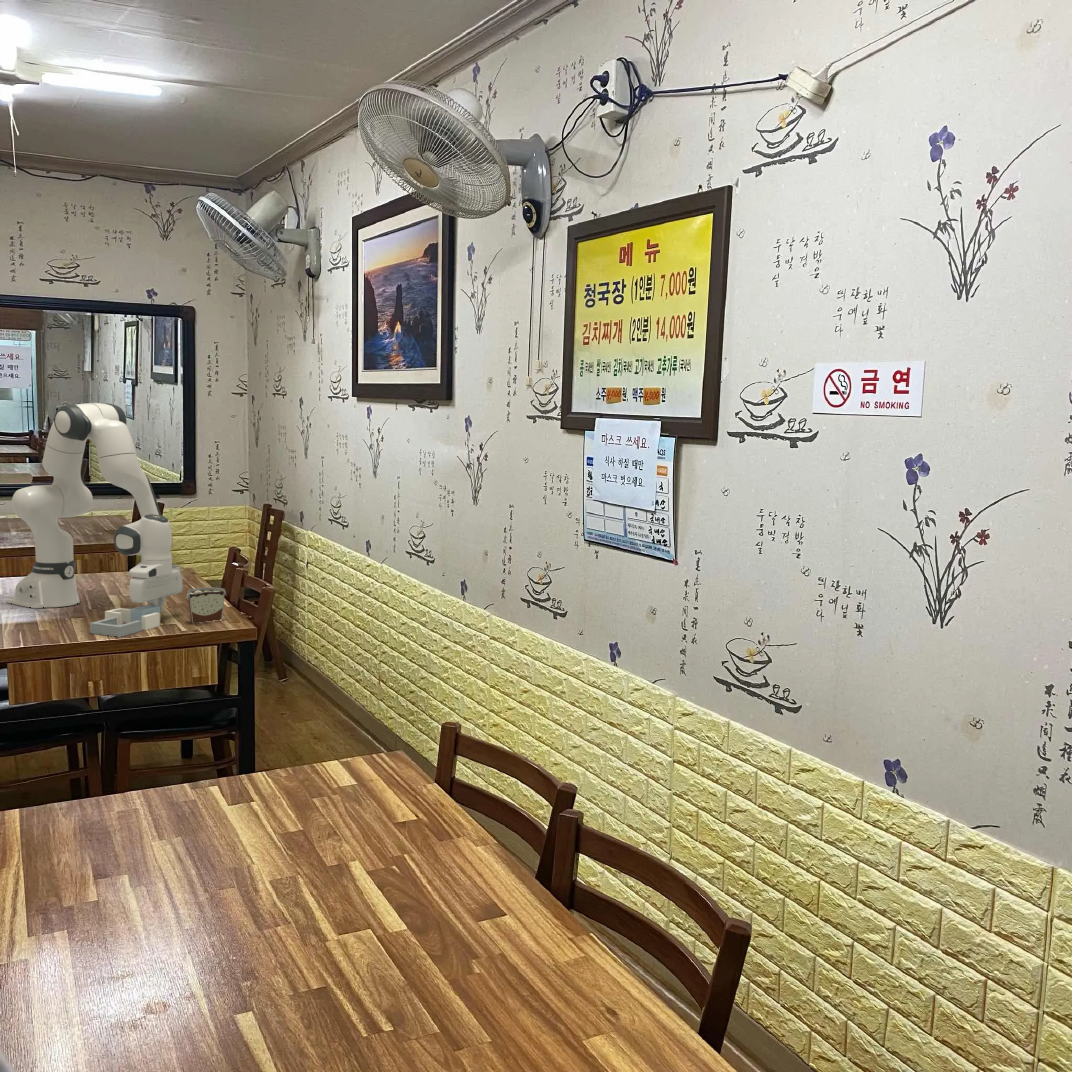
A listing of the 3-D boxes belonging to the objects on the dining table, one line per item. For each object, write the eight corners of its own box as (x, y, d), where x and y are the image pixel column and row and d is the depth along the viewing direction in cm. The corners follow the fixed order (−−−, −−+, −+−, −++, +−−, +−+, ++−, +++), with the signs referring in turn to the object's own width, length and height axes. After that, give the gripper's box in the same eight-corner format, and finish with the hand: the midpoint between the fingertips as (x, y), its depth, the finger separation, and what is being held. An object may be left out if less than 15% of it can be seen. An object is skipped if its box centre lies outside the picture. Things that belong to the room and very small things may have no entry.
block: (130, 625, 293) (130, 609, 292) (147, 620, 299) (146, 604, 299) (144, 627, 291) (143, 610, 290) (160, 622, 298) (160, 606, 297)
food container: (218, 616, 309) (218, 585, 308) (226, 620, 304) (226, 588, 303) (179, 621, 301) (179, 589, 299) (187, 624, 296) (187, 592, 295)
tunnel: (105, 624, 292) (104, 611, 292) (119, 620, 298) (119, 607, 297) (145, 629, 288) (145, 616, 287) (159, 625, 293) (159, 612, 293)
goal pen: (90, 633, 281) (89, 623, 281) (112, 627, 290) (112, 617, 289) (119, 637, 278) (119, 627, 277) (141, 630, 286) (141, 620, 286)
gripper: (170, 562, 309) (171, 605, 310) (125, 571, 289) (125, 617, 291) (187, 564, 307) (187, 607, 309) (142, 573, 287) (143, 619, 289)
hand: (157, 612), depth 300 cm, fingers closed
